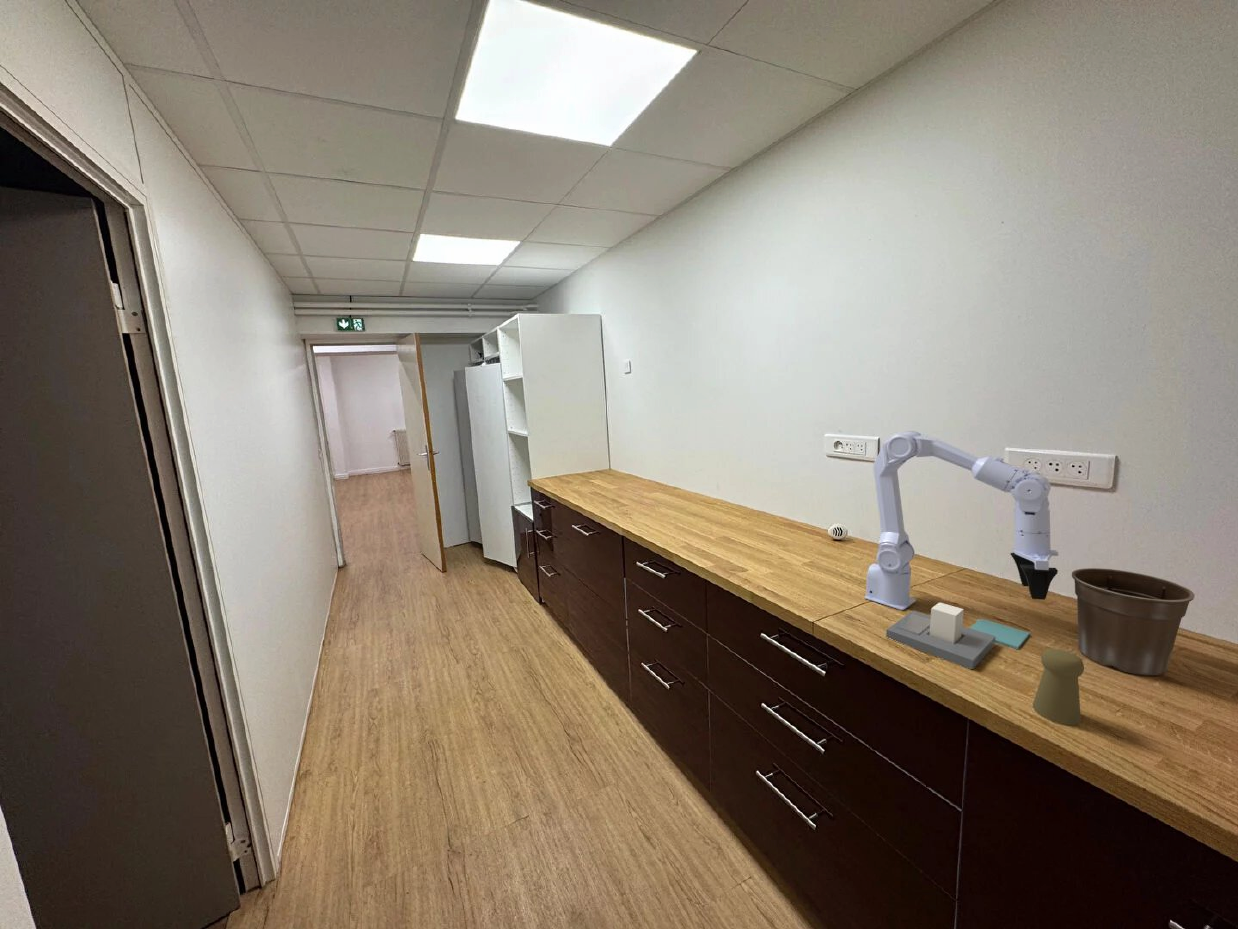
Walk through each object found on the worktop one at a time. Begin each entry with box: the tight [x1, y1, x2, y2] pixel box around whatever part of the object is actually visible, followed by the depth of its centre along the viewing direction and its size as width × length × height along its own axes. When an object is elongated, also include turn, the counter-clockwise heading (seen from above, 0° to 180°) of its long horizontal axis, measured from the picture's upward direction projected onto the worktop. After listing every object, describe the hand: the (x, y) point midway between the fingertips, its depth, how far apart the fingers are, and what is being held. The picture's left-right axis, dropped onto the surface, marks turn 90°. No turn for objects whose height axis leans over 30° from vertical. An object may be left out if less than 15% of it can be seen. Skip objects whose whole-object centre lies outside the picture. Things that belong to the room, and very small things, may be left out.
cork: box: [1032, 648, 1085, 727], centre depth 79 cm, size 6×6×11 cm
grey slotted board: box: [885, 610, 996, 670], centre depth 102 cm, size 16×14×2 cm
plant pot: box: [1071, 567, 1195, 676], centre depth 93 cm, size 16×16×16 cm
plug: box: [929, 601, 964, 644], centre depth 101 cm, size 4×4×8 cm
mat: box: [969, 618, 1030, 650], centre depth 105 cm, size 9×9×1 cm
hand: (1033, 592), depth 101 cm, fingers open, 7 cm apart
